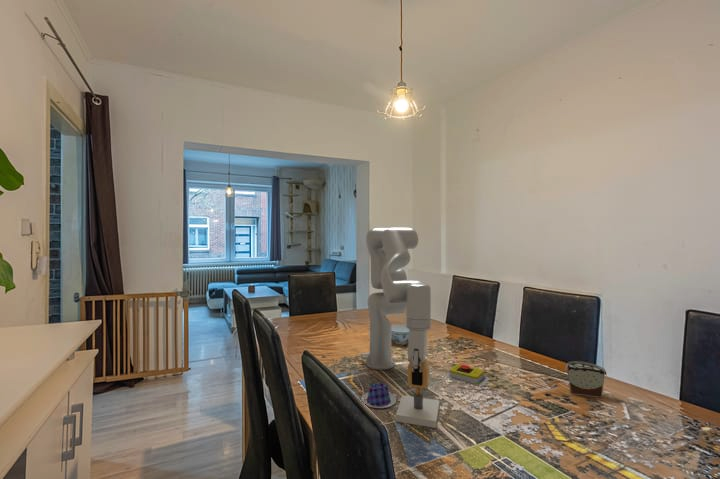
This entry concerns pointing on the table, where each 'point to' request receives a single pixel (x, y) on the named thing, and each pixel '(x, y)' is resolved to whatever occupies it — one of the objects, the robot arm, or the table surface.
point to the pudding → (379, 396)
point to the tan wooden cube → (425, 374)
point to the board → (418, 410)
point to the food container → (585, 378)
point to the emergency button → (468, 374)
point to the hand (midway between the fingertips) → (418, 379)
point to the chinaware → (400, 334)
